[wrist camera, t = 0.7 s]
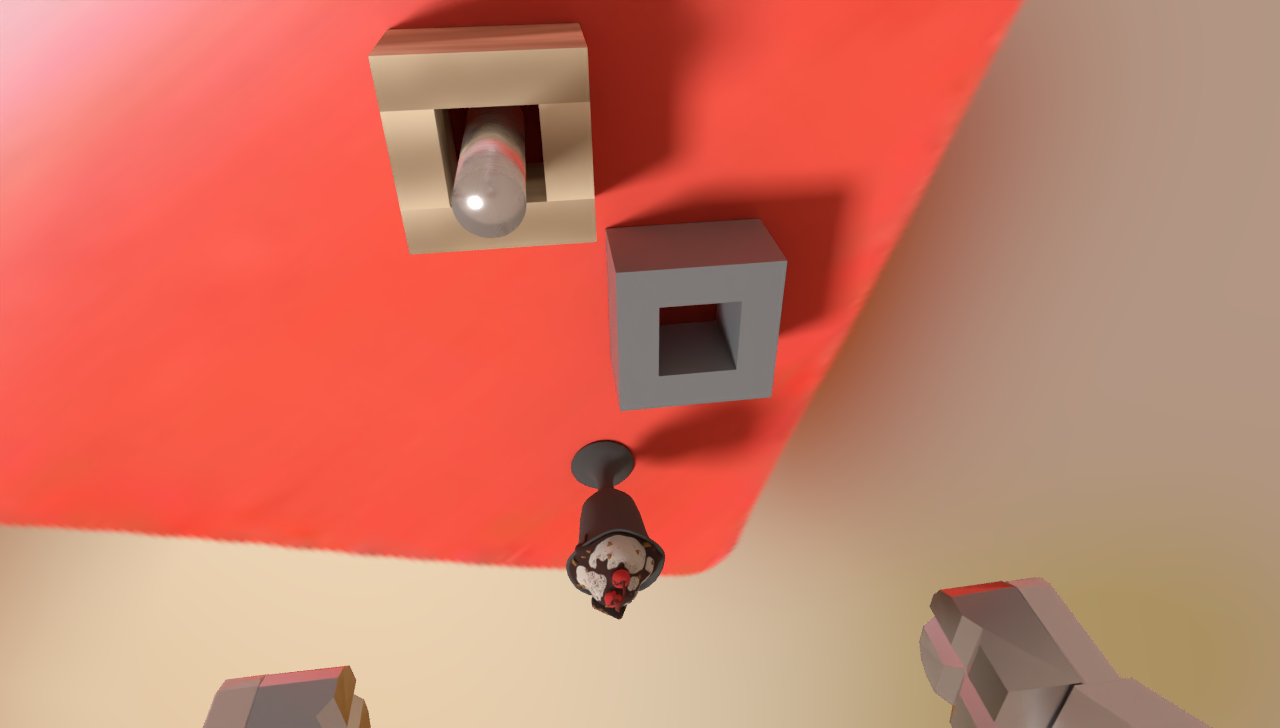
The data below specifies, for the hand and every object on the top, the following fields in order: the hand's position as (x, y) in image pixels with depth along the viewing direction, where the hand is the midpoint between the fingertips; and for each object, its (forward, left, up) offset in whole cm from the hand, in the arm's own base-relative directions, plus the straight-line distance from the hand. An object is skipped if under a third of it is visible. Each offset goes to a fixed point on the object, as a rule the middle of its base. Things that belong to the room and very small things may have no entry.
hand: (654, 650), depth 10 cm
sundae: (+30, +2, -37) cm, 48 cm away
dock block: (+15, +8, -37) cm, 41 cm away
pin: (+3, -3, -37) cm, 37 cm away
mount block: (+3, -3, -37) cm, 37 cm away
